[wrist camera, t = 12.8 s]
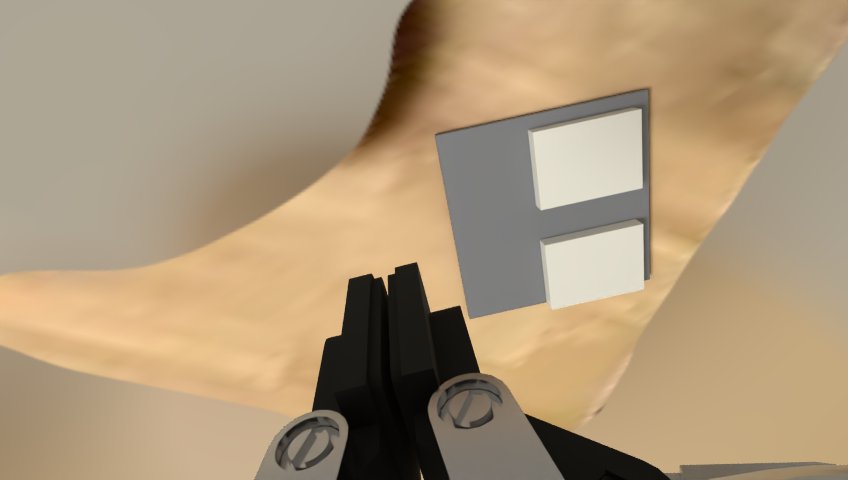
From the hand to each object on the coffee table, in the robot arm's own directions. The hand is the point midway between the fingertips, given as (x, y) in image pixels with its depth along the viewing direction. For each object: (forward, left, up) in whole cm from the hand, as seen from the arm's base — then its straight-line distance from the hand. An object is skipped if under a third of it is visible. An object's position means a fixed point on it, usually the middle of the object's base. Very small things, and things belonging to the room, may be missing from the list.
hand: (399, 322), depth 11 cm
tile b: (+13, +10, -24) cm, 29 cm away
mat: (+8, +12, -25) cm, 29 cm away
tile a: (+4, +10, -24) cm, 26 cm away
